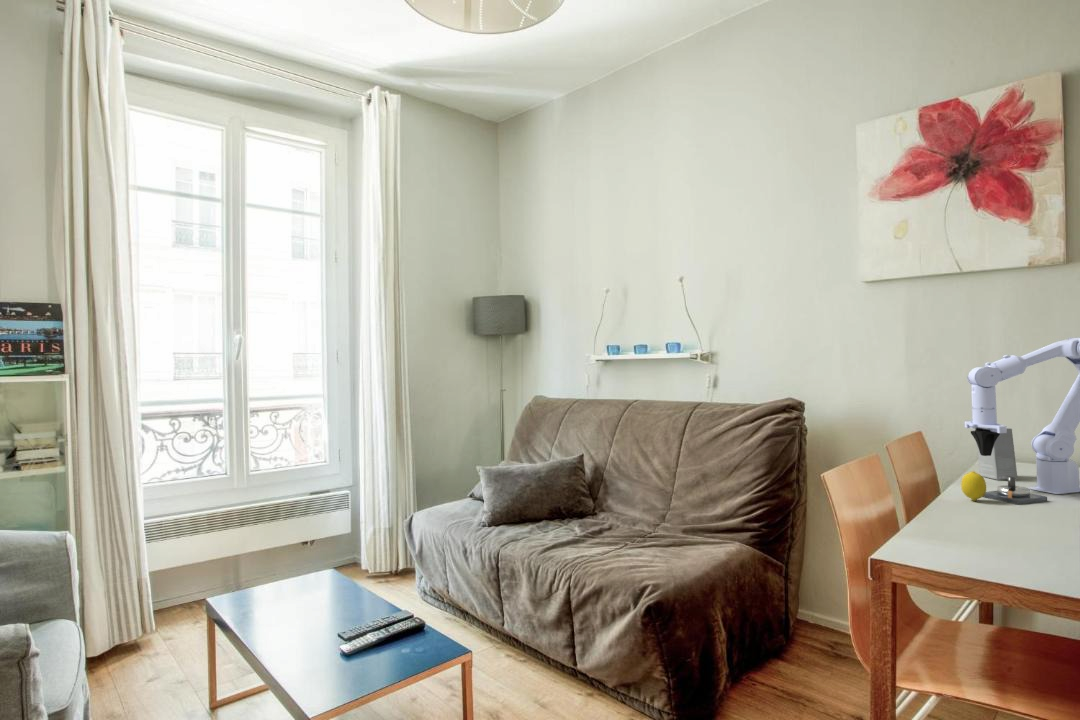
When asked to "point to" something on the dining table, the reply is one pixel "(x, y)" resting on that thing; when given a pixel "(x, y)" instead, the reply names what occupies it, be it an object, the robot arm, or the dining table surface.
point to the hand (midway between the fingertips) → (985, 455)
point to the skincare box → (999, 459)
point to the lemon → (973, 485)
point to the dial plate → (1015, 498)
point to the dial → (1013, 489)
